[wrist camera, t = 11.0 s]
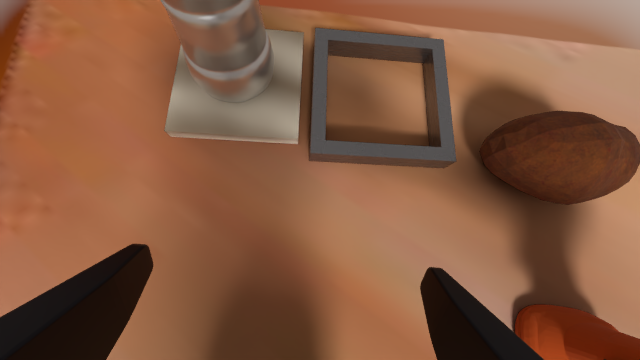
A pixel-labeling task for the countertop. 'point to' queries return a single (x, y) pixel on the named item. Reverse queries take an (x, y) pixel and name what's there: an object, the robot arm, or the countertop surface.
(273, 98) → the board
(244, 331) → the countertop surface
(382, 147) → the collar
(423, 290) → the robot arm
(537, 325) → the toy drill
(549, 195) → the potato
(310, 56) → the countertop surface
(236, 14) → the plastic bottle
